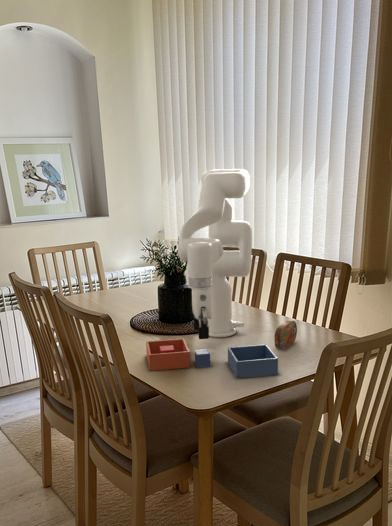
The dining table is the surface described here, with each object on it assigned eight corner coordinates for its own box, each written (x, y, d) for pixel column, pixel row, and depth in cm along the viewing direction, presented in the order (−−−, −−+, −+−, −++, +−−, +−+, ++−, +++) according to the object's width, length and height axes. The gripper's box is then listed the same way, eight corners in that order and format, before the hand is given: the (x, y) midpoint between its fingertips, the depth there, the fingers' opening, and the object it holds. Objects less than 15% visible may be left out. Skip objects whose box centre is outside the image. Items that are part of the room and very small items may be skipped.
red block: (173, 357, 187) (172, 345, 185) (175, 362, 182) (174, 349, 181) (160, 358, 186) (159, 346, 184) (161, 363, 182) (160, 350, 180)
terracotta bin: (184, 353, 191) (184, 338, 190) (190, 367, 179) (189, 351, 177) (146, 356, 190) (146, 341, 188) (150, 370, 177) (149, 354, 175)
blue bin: (266, 359, 184) (266, 344, 182) (277, 374, 172) (278, 358, 170) (227, 362, 182) (227, 347, 180) (236, 378, 170) (236, 361, 168)
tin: (280, 353, 189) (281, 330, 186) (272, 351, 191) (272, 328, 188) (297, 340, 201) (298, 318, 198) (289, 338, 203) (290, 317, 200)
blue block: (208, 361, 184) (207, 348, 182) (210, 366, 180) (210, 353, 178) (194, 362, 183) (194, 349, 182) (197, 367, 179) (196, 354, 177)
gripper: (217, 287, 164) (217, 341, 170) (207, 276, 180) (207, 325, 186) (192, 289, 163) (193, 343, 169) (184, 277, 179) (186, 327, 185)
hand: (201, 334), depth 177 cm, fingers open, 9 cm apart
